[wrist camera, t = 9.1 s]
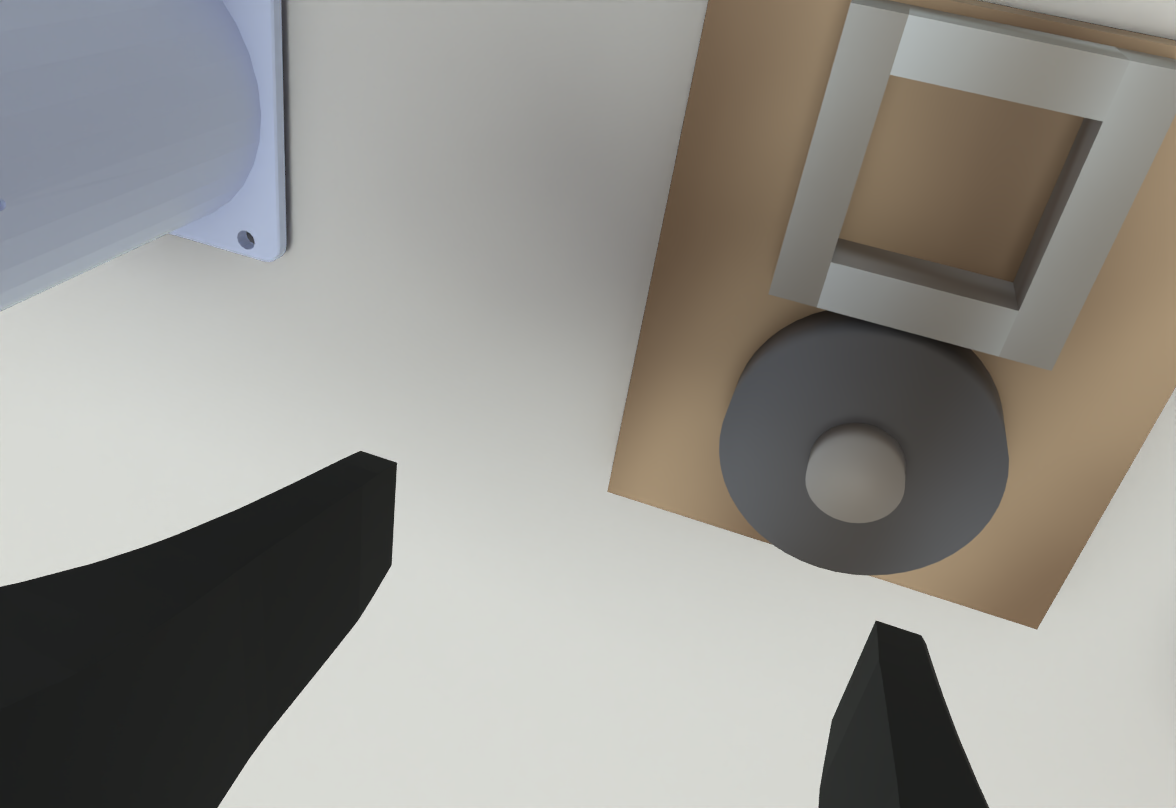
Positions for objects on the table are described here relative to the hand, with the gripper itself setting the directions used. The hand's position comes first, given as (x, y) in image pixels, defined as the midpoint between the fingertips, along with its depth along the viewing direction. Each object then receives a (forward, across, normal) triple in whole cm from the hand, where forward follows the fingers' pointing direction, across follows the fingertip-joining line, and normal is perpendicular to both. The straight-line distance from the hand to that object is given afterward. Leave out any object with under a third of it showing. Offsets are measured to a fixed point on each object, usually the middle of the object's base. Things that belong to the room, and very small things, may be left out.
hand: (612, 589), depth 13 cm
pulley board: (+10, -4, -1) cm, 11 cm away
